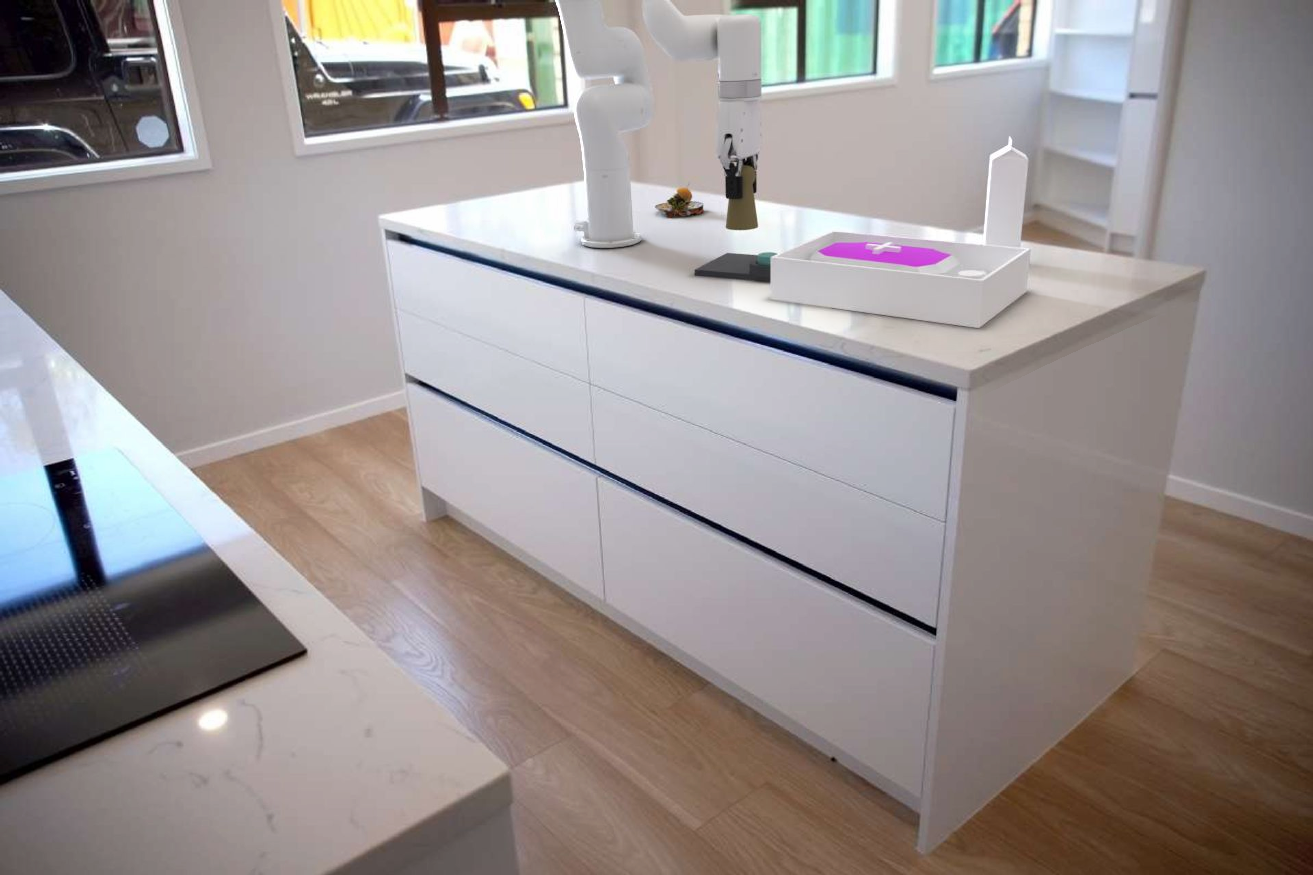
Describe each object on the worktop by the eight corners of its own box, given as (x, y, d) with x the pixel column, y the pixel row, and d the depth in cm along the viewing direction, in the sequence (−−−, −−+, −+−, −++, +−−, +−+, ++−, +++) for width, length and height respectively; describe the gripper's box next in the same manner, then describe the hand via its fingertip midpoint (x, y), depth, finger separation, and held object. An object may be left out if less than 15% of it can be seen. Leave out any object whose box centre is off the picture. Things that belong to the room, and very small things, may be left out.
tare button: (754, 265, 176) (754, 256, 176) (762, 261, 179) (762, 251, 179) (773, 267, 175) (773, 257, 174) (781, 262, 178) (781, 253, 177)
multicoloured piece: (673, 206, 246) (672, 176, 243) (713, 210, 240) (713, 178, 237) (644, 215, 237) (643, 183, 235) (685, 219, 231) (684, 186, 228)
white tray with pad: (978, 328, 146) (983, 279, 143) (770, 299, 165) (770, 255, 162) (1026, 291, 162) (1030, 247, 160) (831, 269, 182) (832, 229, 179)
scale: (692, 277, 182) (692, 260, 180) (727, 258, 193) (726, 243, 192) (777, 284, 174) (777, 267, 173) (808, 265, 186) (808, 249, 184)
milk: (982, 268, 178) (992, 141, 169) (981, 260, 183) (990, 136, 174) (1019, 269, 176) (1030, 140, 167) (1016, 260, 181) (1027, 135, 173)
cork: (756, 230, 181) (756, 168, 176) (723, 230, 182) (722, 168, 177) (760, 223, 186) (759, 163, 182) (727, 223, 187) (726, 163, 183)
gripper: (740, 87, 183) (742, 187, 190) (698, 95, 169) (701, 203, 177) (778, 86, 180) (778, 188, 187) (739, 95, 166) (740, 205, 173)
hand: (741, 194), depth 182 cm, fingers closed on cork, 5 cm apart
